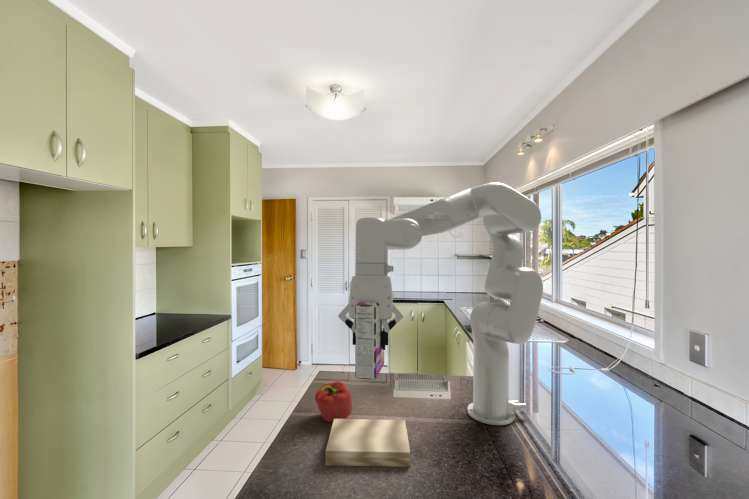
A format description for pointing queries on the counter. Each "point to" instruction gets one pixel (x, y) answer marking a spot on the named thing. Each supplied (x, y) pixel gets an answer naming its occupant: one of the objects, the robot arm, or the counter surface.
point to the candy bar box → (368, 341)
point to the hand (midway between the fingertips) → (370, 347)
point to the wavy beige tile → (368, 443)
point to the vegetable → (334, 401)
